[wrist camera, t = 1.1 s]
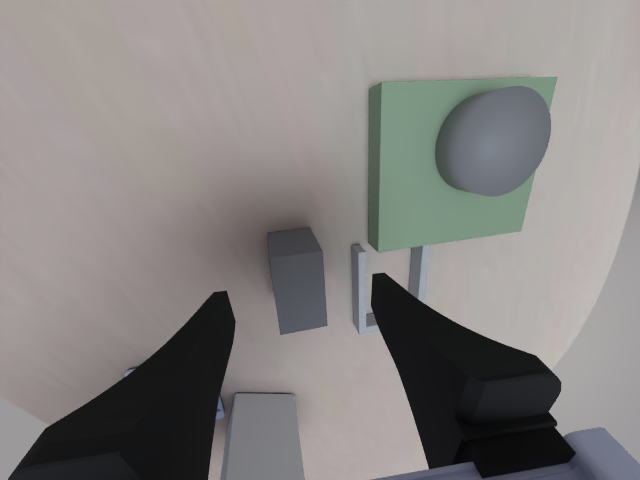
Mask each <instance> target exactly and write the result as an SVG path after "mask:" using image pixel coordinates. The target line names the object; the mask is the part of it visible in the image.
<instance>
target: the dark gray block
mask: <svg viewBox="0 0 640 480" xmlns="http://www.w3.org/2000/svg"><path fill="white" fill-rule="evenodd" d="M268 248H269V262H270V269H271V275H272V282H273V289H274V295H275V302H276V308H277V315H278V321H279V328H280V335H283V334H288V333H293V332H298V331H303V330H309V329H314V328H319V327H324V326H327V311H326V296H325V281H324V266H323V251H322V249H321V247H320V246H319V244H318V242H317V240H316V238H315V236H314V234H313V233H312V231H311V229H310V227H308V228H301V229H293V230H285V231H277V232H269V233H268Z"/></svg>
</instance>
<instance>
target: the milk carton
mask: <svg viewBox="0 0 640 480" xmlns="http://www.w3.org/2000/svg"><path fill="white" fill-rule="evenodd" d="M220 480H305V478H304V470H303V462H302V454H301V446H300V437H299V429H298V421H297V413H296V405H295V397H294V395H293V394H245V393H239V394H235V398H234V402H233V407H232V411H231V416H230V420H229V425H228V430H227V434H226V439H225V447H224V455H223V463H222V471H221V478H220Z"/></svg>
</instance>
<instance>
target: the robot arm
mask: <svg viewBox="0 0 640 480" xmlns="http://www.w3.org/2000/svg"><path fill="white" fill-rule="evenodd" d="M371 307H372V310H373V313H374V317H375V320H376V323H377V325H378V327H379V330H380V332H381V334H382V336H383V338H384V341H385V343H386V345H387V347H388V349H389V351H390V354H391V356H392V358H393V360H394V362H395V365H396V367H397V369H398V372H399V375H400V377H401V380H402V383H403V386H404V389H405V392H406V395H407V398H408V401H409V404H410V407H411V410H412V413H413V416H414V420H415V423H416V426H417V429H418V432H419V436H420V439H421V442H422V446H423V449H424V453H425V456H426V460H427V463H428V467H429V469H428V470H422V471H417V472H411V473H406V474H400V475H394V476H389V477H383V478H377V479H372V480H640V464H639V463H638V462H637V461H636V460H635V459H634V458H633V457H632V456H631V455H630V454H629V453H628V452H627V451H626V450H625V449H624V448H623V447H622V446H621V445H620V444H619V443H618V442H617V441H616V440H615V439H614V438H613V437H612V436H611V435H610V434H609V433H608V432H607V431H606V429H604V428H601V427H599V428H593V429H587V430H581V431H575V432H572V433H569V434H567V435H565V436H564V437H562V436H561V434H560V433H559V432H558V431H557V430H556V429H555V426H557V421H556V420H555V419H554V418H553V417H552V415H551V414H550V413H549V412H548V411H549V410H550V408H551V407H552V405H553V404H554V402H555V401H556V399H557V397H558V396H559V394H560V392H561V381H560V380H559V378H558V377H557V376H556V375H555V374H554V373H553V372H552V371H551V370H550V369H549V368H548V367H547V366H546V365H545V364H544V363H543V362H542V361H541V360H540V359H539V358H538V357H537V356H535V355H532V354H530V353H527V352H524V351H521V350H518V349H515V348H512V347H509V346H507V345H504V344H501V343H499V342H497V341H494V340H492V339H489V338H487V337H485V336H482V335H480V334H478V333H476V332H473V331H471V330H469V329H467V328H465V327H463V326H461V325H459V324H457V323H455V322H454V321H452V320H450V319H448V318H447V317H445V316H443V315H441V314H440V313H438V312H436V311H435V310H433V309H432V308H430V307H429V306H427V305H426V304H424V303H423V302H421V301H420V300H419V299H417V298H416V297H414V296H413V295H412V294H410V293H409V292H408V291H407V290H405V289H404V288H403V287H401V286H400V285H399V284H398V283H397V282H395V281H394V280H393V279H392V278H390V277H389V276H388V275H387V274H385V273H377V274H373V276H372V295H371ZM235 323H236V321H235V318H234V315H233V311H232V308H231V304H230V301H229V297H228V294H227V291H221V292H214V293H213V294H212V295H211V296H210V297H209V298H208V299H207V300H206V302H205V303H204V304H203V305H202V306H201V307H200V308H199V309H198V311H197V312H196V313H195V314H194V315H193V316H192V317H191V318H190V319H189V320H188V322H187V323H186V324H185V325H184V326H183V327H182V328H181V329H180V330H179V331H178V332H177V333H176V334H175V335H174V336H173V337H172V338H171V339H170V340H169V341H168V342H167V343H166V344H165V345H163V346H162V347H161V348H160V349H159V350H158V351H157V352H156V353H154V354H153V355H152V356H151V357H150V358H149V359H147V360H146V361H145V362H144V363H142V364H141V365H140V366H139V367H137V368H135V369H130V370H127V371H126V373H125V375H124V378H123V379H122V380H120V381H119V382H118V383H116V384H115V385H113V386H112V387H110V388H109V389H108V390H106V391H105V392H103V393H102V394H100V395H99V396H97V397H96V398H94V399H93V400H91V401H90V402H88V403H87V404H85V405H83V406H82V407H80V408H79V409H77V410H75V411H74V412H72V413H70V414H69V415H67V416H65V417H64V418H62V419H60V420H59V421H57V422H55V423H54V424H52V425H50V426H49V427H47V428H46V429H45V430H44V431H43V432H42V434H41V435H40V436H39V438H38V439H37V440H36V442H35V443H34V444H33V446H32V447H31V449H30V450H29V451H28V453H27V454H26V455H25V457H24V458H23V459H22V461H21V462H20V463H19V465H18V466H17V467H16V469H15V470H14V471H13V473H12V474H11V475H10V477H9V479H8V480H208V474H209V466H210V458H211V449H212V442H213V435H214V427H215V420H218V419H222V418H223V417H224V415H225V412H224V408H223V405H222V401H221V398H220V392H221V387H222V383H223V379H224V376H225V372H226V368H227V364H228V360H229V356H230V353H231V349H232V345H233V339H234V332H235Z"/></svg>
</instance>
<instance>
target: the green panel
mask: <svg viewBox="0 0 640 480" xmlns="http://www.w3.org/2000/svg"><path fill="white" fill-rule="evenodd" d="M556 81H557V77H533V78H503V79H473V80H443V81H413V82H383V83H380V84H378V85H376V86H374V87H372V88H370V89H369V225H368V243H369V244H370V245H371V246H372V247H373V248H374V249H375V250H376V251H377V252H385V251H392V250H398V249H405V248H412V252H411V265H410V279H409V293H410V294H412V295H413V296H414V297H416V298H417V299H419V300H420V301H421V302H423V303H424V302H425V292H426V282H427V272H428V262H429V252H430V245H432V244H438V243H445V242H452V241H458V240H465V239H472V238H478V237H485V236H492V235H498V234H505V233H512V232H519V231H521V229H522V225H523V221H524V217H525V212H526V208H527V204H528V200H529V196H530V191H531V187H532V183H533V179H534V174H535V170H536V169H537V167H538V166H539V164H540V162H541V161H542V159H543V157H544V154H545V152H546V149H547V146H548V143H549V138H550V132H551V119H550V113H549V111H550V107H551V102H552V98H553V94H554V90H555V85H556ZM352 278H353V323H354V325H355V327H356V329H357V331H358V333H359V334H364V333H369V332H374V331H379V327H378V325H377V323H376V320H375V317H374V313H372V314H367V315H366V251H365V250H364V249H363V248H362V247H361V246H360V245H359V244H358V245H352Z"/></svg>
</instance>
